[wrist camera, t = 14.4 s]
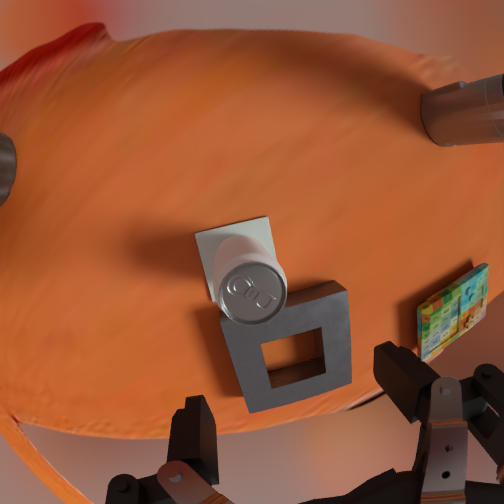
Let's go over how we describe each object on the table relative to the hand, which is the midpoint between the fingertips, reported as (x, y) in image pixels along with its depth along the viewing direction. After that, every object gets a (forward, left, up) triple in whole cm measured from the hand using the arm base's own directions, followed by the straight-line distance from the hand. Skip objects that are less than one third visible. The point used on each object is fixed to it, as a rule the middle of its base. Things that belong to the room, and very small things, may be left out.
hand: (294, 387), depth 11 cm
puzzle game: (+19, +35, -25) cm, 47 cm away
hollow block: (+14, +4, -24) cm, 28 cm away
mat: (0, 0, -24) cm, 24 cm away
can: (0, 0, -24) cm, 24 cm away
